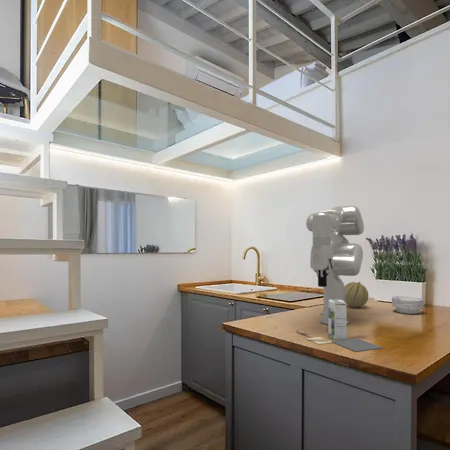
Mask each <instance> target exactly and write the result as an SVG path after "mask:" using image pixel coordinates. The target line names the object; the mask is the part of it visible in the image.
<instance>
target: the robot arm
mask: <svg viewBox="0 0 450 450" xmlns="http://www.w3.org/2000/svg"><path fill="white" fill-rule="evenodd" d="M305 224H306V229H307V230H308V231H309V232H311V233H312V246H311V251H310V260H309V261H310V263H309V264H310V268H311V269H312V270H313V272H315V273H316V277H317V286H318V287H320V288H322V289H323V291H322V292H323V293H322V294H323V295H322V296H323V311H321V312H319V313H320V316H322V318H320V323H322V324H324V325H328V300H333V299H335V300H342V301H344V302H345V287H344V286H345V284H344V281H343V280H342V278H341V277H340V276H346V277H347V276H348V277H349V276H350V277H354V276H357V275H359V273H360V272H361V267H362V264H363V263H362V262H363V258H364V250H363V248H362V246H361V244H359V243H350V242H349V240H348V239H347V238H346V237H345V236H360V235H362V234H363V232H364V231H365V225H364V221H363V217H362V213H361V212H360V209H359V208H358V207H357V206H356V205H346V206H345V205H343V206H342V205H340V206H335V207H333V208H330V209H328V210H323V211H318V212H315V213H311V214H310V215H309V216H307V218H306V221H305ZM346 323H347V324H346V325H349V323H350V321H349V320H348V319H346Z"/></svg>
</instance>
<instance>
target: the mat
mask: <svg viewBox="0 0 450 450" xmlns="http://www.w3.org/2000/svg"><path fill="white" fill-rule="evenodd" d="M330 341H331V342H332V343H331V344H334V345H337V346H339V347H342V348H345V349H347V350H348V351H352V352H355V353H359V352H366V351H372V350H373V351H374V350H381V349H383V347H382V346H379V345H377V344H374V343H372V342H368V341H366V340H364V339H361V338H357V337H354V338H347V339H345V340H330Z"/></svg>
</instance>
